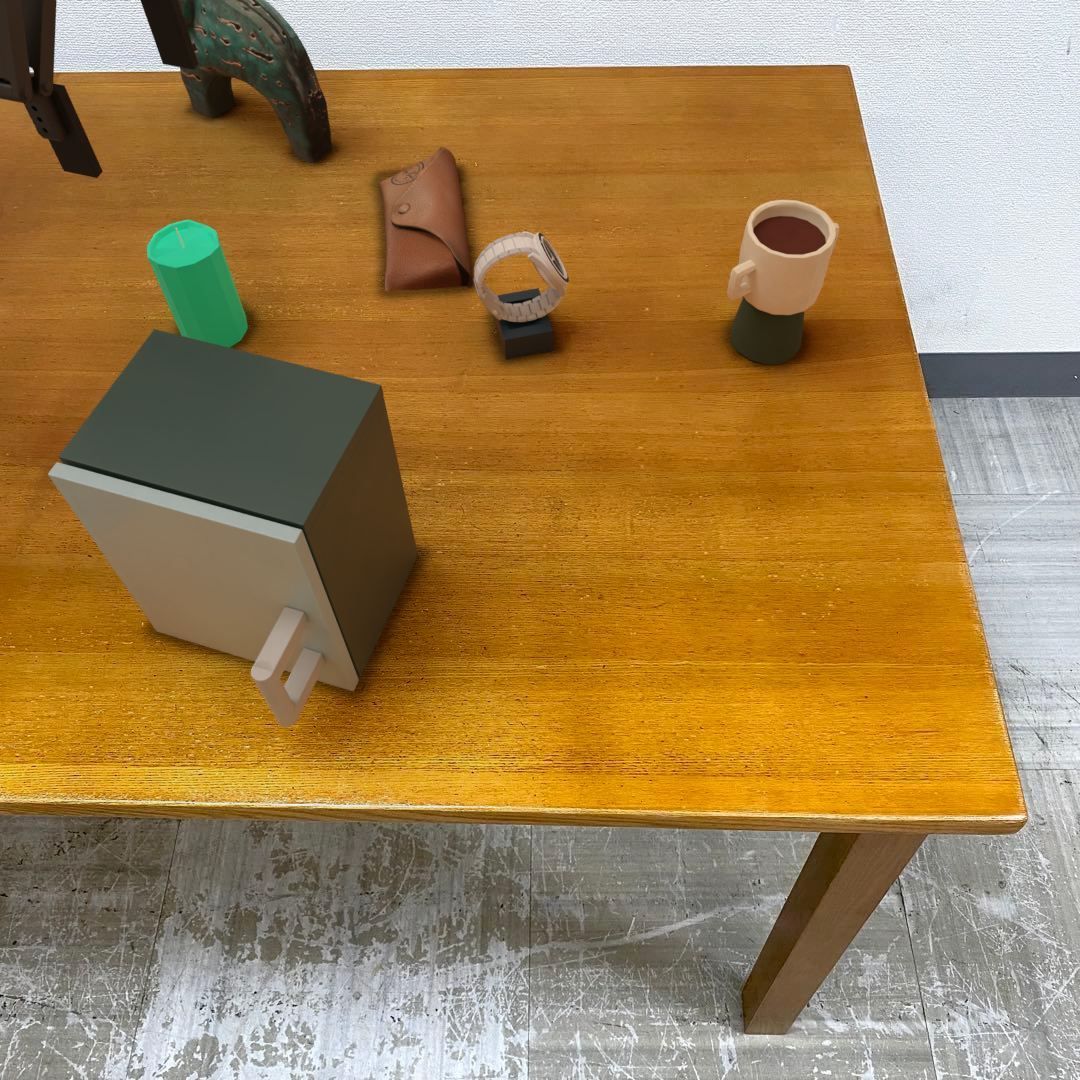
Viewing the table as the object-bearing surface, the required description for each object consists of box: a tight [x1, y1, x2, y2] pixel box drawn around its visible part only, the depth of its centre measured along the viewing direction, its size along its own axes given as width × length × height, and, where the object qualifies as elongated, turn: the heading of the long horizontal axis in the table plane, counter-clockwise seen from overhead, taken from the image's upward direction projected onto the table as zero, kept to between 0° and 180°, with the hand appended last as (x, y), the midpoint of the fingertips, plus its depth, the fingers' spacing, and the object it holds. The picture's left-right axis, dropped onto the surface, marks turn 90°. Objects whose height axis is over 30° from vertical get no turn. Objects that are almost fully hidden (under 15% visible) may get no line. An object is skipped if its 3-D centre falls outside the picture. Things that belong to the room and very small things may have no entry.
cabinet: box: [58, 329, 419, 678], centre depth 69 cm, size 11×16×20 cm
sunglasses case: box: [379, 146, 473, 293], centre depth 99 cm, size 18×7×7 cm
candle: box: [146, 218, 249, 348], centre depth 88 cm, size 6×6×12 cm
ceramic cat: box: [179, 0, 333, 164], centre depth 102 cm, size 20×6×20 cm, turn 54°
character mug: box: [726, 199, 840, 366], centre depth 86 cm, size 11×7×13 cm, turn 121°
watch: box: [472, 230, 570, 360], centre depth 87 cm, size 6×8×11 cm
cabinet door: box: [47, 461, 360, 728], centre depth 65 cm, size 6×16×20 cm, turn 72°
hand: (134, 115), depth 75 cm, fingers open, 13 cm apart
